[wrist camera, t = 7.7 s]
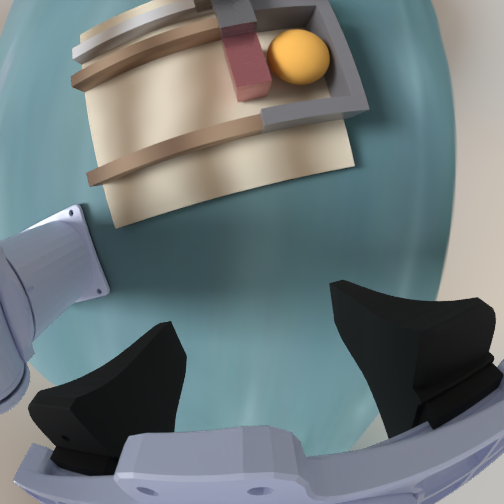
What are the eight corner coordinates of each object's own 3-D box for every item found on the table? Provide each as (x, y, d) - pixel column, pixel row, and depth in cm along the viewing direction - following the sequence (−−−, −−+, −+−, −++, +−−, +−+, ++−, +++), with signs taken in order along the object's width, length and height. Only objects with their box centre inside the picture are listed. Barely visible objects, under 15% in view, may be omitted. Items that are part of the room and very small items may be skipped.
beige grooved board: (121, 226, 20) (103, 235, 17) (85, 38, 15) (69, 26, 12) (349, 166, 19) (366, 165, 16) (285, -20, 14) (290, -39, 11)
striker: (223, 106, 16) (208, 58, 8) (193, -3, 13) (172, -69, 5) (281, 93, 16) (308, 40, 8) (243, -13, 13) (245, -81, 5)
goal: (261, 133, 17) (265, 125, 14) (230, 27, 15) (228, 4, 11) (349, 118, 17) (369, 109, 14) (314, 17, 14) (325, -5, 11)
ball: (341, 82, 15) (288, 95, 17) (324, 35, 14) (273, 50, 16) (331, 67, 12) (266, 86, 14) (309, 12, 11) (249, 33, 13)
